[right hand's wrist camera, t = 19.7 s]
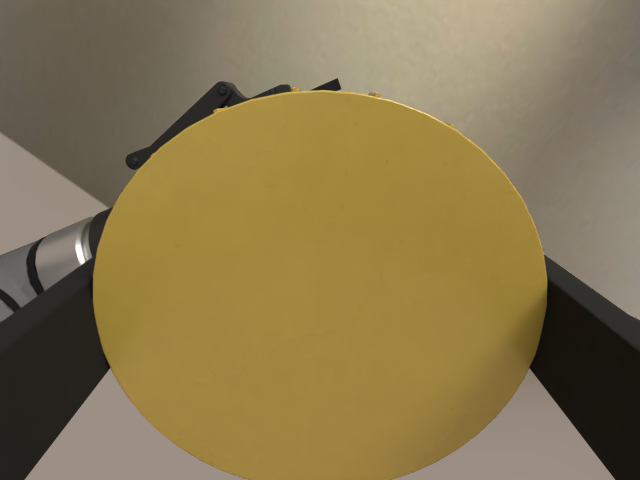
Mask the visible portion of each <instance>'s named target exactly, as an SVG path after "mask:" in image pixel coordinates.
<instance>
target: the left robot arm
mask: <svg viewBox="0 0 640 480" xmlns="http://www.w3.org/2000/svg"><path fill="white" fill-rule="evenodd" d="M340 89H341V87H340V84H339V81H338V78H337V79H335V80H333V81H330V82H328V83H326V84H323V85H321V86H319V87H317V88H314V89H312V90H310V91H315V90H329V91H338V90H340ZM285 92H292V90H291V87H290V85H279V86H277V87H275V88H272V89H270V90H268V91H266V92H264V93H261V94H259V95H257V96H255V97H252V98H246V97H244V96H243V95H242V94H241V93H240V92H239V91H238V89H237V88H236V86H235V85H234V84H232V83H229V82H218V83H217V84H215V85H214V86H213V87H212V88H211V89H210V90H209V91H208V92H207V93H206V94H205V95H204V96H203V97H202V98H201V99H200V100H199V101H197V102H196V103H195V104H194V105H193V106H192V107H191V108H190V109H189V110H188V111H187V112H186V113H185V114H184V115H183V116H182V117H181V118H180V119H178V120H177V121H176V122H175V123H174V124H173V125H172V126H171V127H170V128H169V129H168V130H167V131H166V132H165V133H164V134H163V135H162V136H160V137H159V138H158V139H157V140H156V141H155V142H154V143H153V144H152V145H151V146H150V147H147V148H145V149H142V150H139V151H137V152H134V153H131V154H129V155H128V156H127V157H126V164H127V166H128V167H129V168H131V169H134V170H137V171H138V169H139V168H140V167H141V166H142V165H143V164H144V163H145V162H146V161H147V160H148V159H149V158H150V157H151V155H152V154H153V153H155V152H156V151H157V150H158V149H159V148H160V147H161V146H163V145H164V144H166V143H167V142H168V141H170V140H171V139H172V138H174V137H175V136H176V135H178V134H179V133H181V132H182V131H183V130H185V129H186V128H187V127H189V126H191V125H193V124H195V123H197V122H199V121H200V120H202V119H204V118H206V117H208V116H210V115H212V114H214V112H213V110H215V109H220V108H224V107H225V106H226V105H227V106H228V107H231V106H234V105H237V104H240V103H242V102H245V101H248V100H251V99H255V98H260V97H265V96H270V95H275V94H280V93H285ZM112 209H113V207H112V208H110V209H107V210H105V211H103V212H100V213H98V214H97V215H96V216H95V217H89V218H87V219H84V220H82V221H80V222H77V223H75V224H73V225H70V226H68V227H65V228H63V229H61V230H59V231H56V232H54V233H51V234H49V235H48V236H46V237H44V238H41V239H40V240H38V241H35V242H33V243H30V244H28V245H25V246H23V247H20V248H18V249H15V250H13V251H10V252H8V253H5V254H3V255H0V322H1V321H3V320H5V319H6V318H7V317H9V316H10V315H12V314H13V313H14V312H16V311H17V310H19V309H20V308H21V307H23V306H24V305H26V304H27V303H28V302H30V301H31V300H33V299H34V298H35V297H37V296H38V295H40V294H41V293H42V292H44V291H45V290H47V289H48V288H50V287H51V286H52V285H54V284H55V283H57V282H58V281H59V280H61V279H62V278H64V277H65V276H66V275H68V274H69V273H71V272H72V271H73V270H75V269H76V268H78V267H79V266H80V265H82V264H83V263H85V262H86V261H87V260H89V259H90V258H92V257H93V256H94V255H96V254H97V248H98V245H99V242H100V239H101V236H102V233H103V230H104V227H105V224H106V221H107V219H108V217H109V215H110V213H111V211H112Z"/></svg>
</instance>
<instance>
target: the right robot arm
mask: <svg viewBox="0 0 640 480" xmlns="http://www.w3.org/2000/svg"><path fill="white" fill-rule="evenodd" d="M95 260H96V255H94V256H93V257H92V258H90V259H89V260H87V261H86V262H85V263H83V264H82V265H80V266H79V267H78V268H76V269H75V270H73V271H72V272H71V273H69V274H68V275H66V276H65V277H64V278H62V279H61V280H59V281H58V282H57V283H55V284H54V285H52V286H51V287H50V288H48V289H47V290H45V291H44V292H42V293H41V294H40V295H38V296H37V297H35V298H34V299H33V300H31V301H30V302H28V303H27V304H26V305H24V306H23V307H21V308H20V309H19V310H17V311H16V312H14V313H13V314H12V315H10V316H9V317H7V318H6V319H5V320H3V321H1V322H0V480H24V479H25V478H26V477H27V476H28V474H29V473H30V472H31V470H32V469H33V468H34V466H35V465H36V464H37V463H38V461H39V460H40V459H41V457H42V456H43V455H44V453H45V452H46V451H47V450H48V448H49V447H50V446H51V444H52V443H53V442H54V440H55V439H56V438H57V437H58V435H59V434H60V433H61V431H62V430H63V429H64V427H65V426H66V425H67V423H68V422H69V421H70V420H71V418H72V417H73V416H74V414H75V413H76V412H77V410H78V409H79V408H80V407H81V405H82V404H83V403H84V401H85V400H86V399H87V397H88V396H89V395H90V394H91V392H92V391H93V390H94V388H95V387H96V386H97V384H98V383H99V382H100V381H101V379H102V378H103V377H104V375H105V374H106V373H107V371H108V370H109V369H110V365H109V363H108V361H107V359H106V356H105V354H104V352H103V349H102V345H101V341H100V337H99V333H98V329H97V324H96V319H95V314H94V307H93V272H94V266H95ZM544 260H545V267H546V274H547V308H546V313H545V318H544V322H543V327H542V331H541V336H540V340H539V344H538V348H537V351H536V354H535V357H534V359H533V361H532V363H531V365H530V367H529V368H530V369H531V371H532V372H533V373H534V374H535V376H536V377H537V378H538V380H539V381H540V382H541V383H542V385H543V386H544V387H545V389H546V390H547V391H548V393H549V394H550V395H551V397H552V398H553V399H554V400H555V402H556V403H557V404H558V406H559V407H560V408H561V410H562V411H563V412H564V413H565V415H566V416H567V417H568V419H569V420H570V421H571V423H572V424H573V425H574V426H575V428H576V429H577V430H578V432H579V433H580V434H581V436H582V437H583V438H584V440H585V441H586V442H587V443H588V445H589V446H590V447H591V449H592V450H593V451H594V453H595V454H596V455H597V456H598V458H599V459H600V460H601V462H602V463H603V464H604V466H605V467H606V468H607V469H608V471H609V472H610V473H611V475H612V476H613V477H614V478H615V480H640V320H638V319H636V318H634V317H632V316H630V315H628V314H627V313H625V312H624V311H623V310H621V309H620V308H618V307H617V306H616V305H614V304H613V303H611V302H610V301H608V300H607V299H606V298H604V297H603V296H601V295H600V294H599V293H597V292H596V291H594V290H593V289H592V288H590V287H589V286H587V285H586V284H585V283H583V282H582V281H580V280H579V279H578V278H576V277H575V276H573V275H572V274H571V273H569V272H568V271H566V270H565V269H564V268H562V267H561V266H559V265H558V264H556V263H555V262H554V261H552V260H551V259H549V258H548V257H547V256H545V255H544Z"/></svg>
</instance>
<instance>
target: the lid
mask: <svg viewBox="0 0 640 480" xmlns="http://www.w3.org/2000/svg"><path fill="white" fill-rule="evenodd" d="M379 97H380V94H379V93H369V95H366V94H361V93H353V92H341V91H329V90H315V91H300V88H297V87H296V88H292V92H285V93H280V94H275V95H270V96H265V97H260V98H255V99H251V100H248V101H245V102H242V103H240V104H237V105H234V106H231V107H228V108H220V109H215V110H213V112H214V114H212V115H210V116H208V117H206V118H204V119H202V120H200V121H199V122H197V123H195V124H193V125H191V126H189V127H187V128H186V129H185V130H183V131H182V132H181V133H179V134H178V135H176V136H175V137H174V138H172V139H171V140H170V141H168V142H167V143H166V144H164V145H163V146H161V147H160V148H159V149H158V150H157V151H156V152H155V153H153V154H152V155H151V157H150V158H149V159H148V160H147V161H146V162H145V163H144V164H143V165H142V166H141V167H140V168H139V169H138V171H137V172H136V173H135V175H134V176H133V177H132V179H131V180H130V182H129V183H128V184H127V186H126V187H125V188H124V190H123V191H122V192H121V194H120V196H119V197H118V199H117V201H116V203H115V205H114V207H113V209H112V211H111V213H110V215H109V217H108V219H107V221H106V224H105V227H104V230H103V233H102V236H101V239H100V242H99V245H98V248H97V254H96V260H95V266H94V272H93V307H94V314H95V319H96V324H97V329H98V333H99V337H100V341H101V345H102V349H103V352H104V354H105V356H106V359H107V361H108V363H109V365H110V368H111V370H112V372H113V374H114V376H115V378H116V379H117V381H118V382H119V384H120V386H121V387H122V389H123V390H124V392H125V394H126V395H127V397H128V398H129V399H130V401H131V402H132V403H133V404H134V405H135V407H136V408H137V409H138V410H139V412H140V413H141V414H142V415H143V416H144V417H145V418H146V419H147V420H148V421H149V422H150V423H151V424H152V425H153V426H154V427H155V428H156V429H157V430H158V431H159V432H160V433H161V434H163V435H164V436H165V437H167V438H168V439H169V440H171V441H172V442H173V443H174V444H176V445H177V446H178V447H180V448H181V449H183V450H185V451H186V452H188V453H190V454H191V455H193V456H194V457H196V458H198V459H199V460H201V461H203V462H205V463H207V464H209V465H212V466H214V467H216V468H218V469H220V470H222V471H225V472H227V473H230V474H233V475H236V476H239V477H241V478H244V479H248V480H392V479H395V478H398V477H401V476H404V475H407V474H410V473H413V472H415V471H417V470H420V469H422V468H424V467H426V466H428V465H431V464H433V463H435V462H437V461H439V460H440V459H442V458H444V457H445V456H447V455H449V454H450V453H452V452H454V451H456V450H457V449H459V448H460V447H461V446H463V445H464V444H465V443H467V442H468V441H469V440H471V439H472V438H473V437H475V436H476V435H477V434H478V433H479V432H480V431H482V430H483V429H484V428H485V427H486V426H487V425H488V424H489V423H490V422H491V421H492V420H493V419H494V418H495V417H496V416H497V415H498V414H499V413H500V411H501V410H502V409H503V408H504V407H505V405H506V404H507V403H508V402H509V401H510V399H511V398H512V396H513V395H514V393H515V392H516V390H517V389H518V387H519V386H520V384H521V383H522V381H523V379H524V378H525V376H526V374H527V371H528V369H529V367H530V365H531V363H532V361H533V359H534V357H535V354H536V351H537V348H538V344H539V340H540V336H541V331H542V327H543V322H544V318H545V313H546V308H547V274H546V267H545V260H544V253H543V249H542V246H541V243H540V239H539V236H538V233H537V230H536V226H535V223H534V221H533V219H532V217H531V215H530V213H529V211H528V209H527V207H526V205H525V203H524V201H523V199H522V197H521V196H520V194H519V193H518V191H517V190H516V189H515V187H514V186H513V184H512V183H511V181H510V180H509V179H508V177H507V176H506V174H505V173H504V172H503V171H502V170H501V169H500V168H499V167H498V166H497V165H496V164H495V162H494V161H493V160H492V159H491V158H490V157H489V156H488V155H487V154H486V153H485V152H484V151H483V150H482V149H481V148H479V147H478V146H477V145H475V144H474V143H473V142H471V141H470V140H469V139H468V138H466V137H465V136H464V135H462V134H461V133H460V132H458V131H457V130H456V129H454V128H453V127H454V126H453V125H451V124H448V123H443V122H441V121H440V120H438V119H436V118H434V117H432V116H431V115H429V114H427V113H425V112H422V111H419V110H417V109H414V108H411V107H409V106H406V105H403V104H401V103H398V102H396V101H392V100H388V99H384V98H379Z"/></svg>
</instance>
